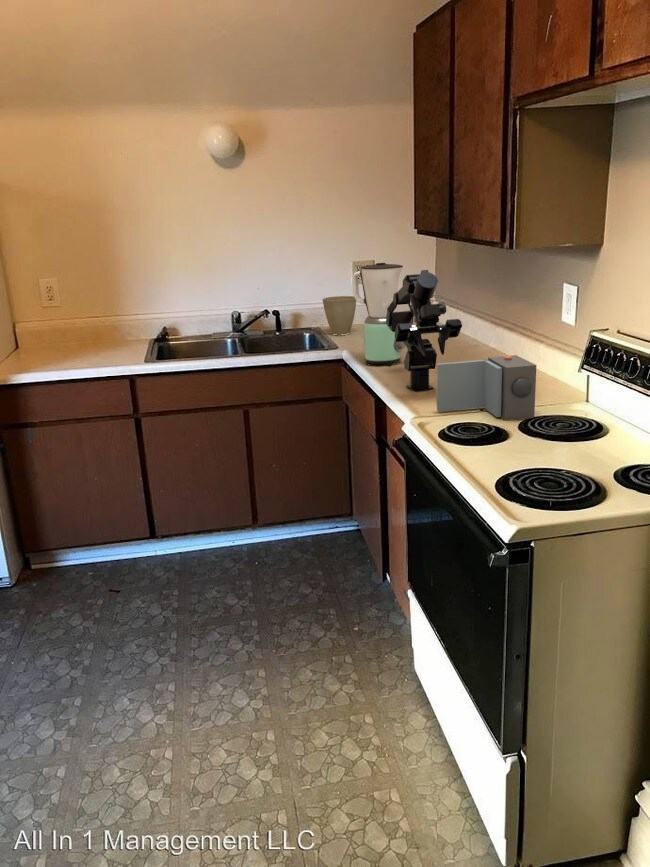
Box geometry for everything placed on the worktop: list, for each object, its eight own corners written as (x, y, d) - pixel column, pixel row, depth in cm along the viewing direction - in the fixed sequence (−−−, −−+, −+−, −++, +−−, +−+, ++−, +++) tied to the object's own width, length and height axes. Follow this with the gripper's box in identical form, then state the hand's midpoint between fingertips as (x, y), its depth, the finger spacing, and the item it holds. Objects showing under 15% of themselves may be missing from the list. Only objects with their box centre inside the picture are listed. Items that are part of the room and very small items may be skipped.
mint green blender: (411, 360, 259) (410, 261, 248) (397, 368, 248) (395, 265, 237) (363, 357, 267) (360, 261, 256) (348, 365, 256) (344, 265, 245)
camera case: (486, 407, 197) (487, 354, 193) (514, 404, 198) (516, 352, 194) (506, 421, 184) (508, 365, 179) (536, 419, 185) (538, 363, 180)
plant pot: (364, 333, 314) (363, 297, 309) (338, 338, 306) (336, 301, 301) (343, 330, 325) (342, 294, 320) (317, 334, 317) (315, 298, 312)
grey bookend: (436, 409, 196) (435, 363, 192) (485, 405, 198) (485, 358, 194) (449, 421, 185) (449, 372, 181) (500, 416, 187) (502, 368, 183)
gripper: (396, 295, 200) (406, 341, 193) (460, 290, 203) (473, 335, 196) (390, 319, 210) (400, 363, 203) (451, 314, 213) (463, 358, 206)
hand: (434, 354), depth 202 cm, fingers open, 5 cm apart
